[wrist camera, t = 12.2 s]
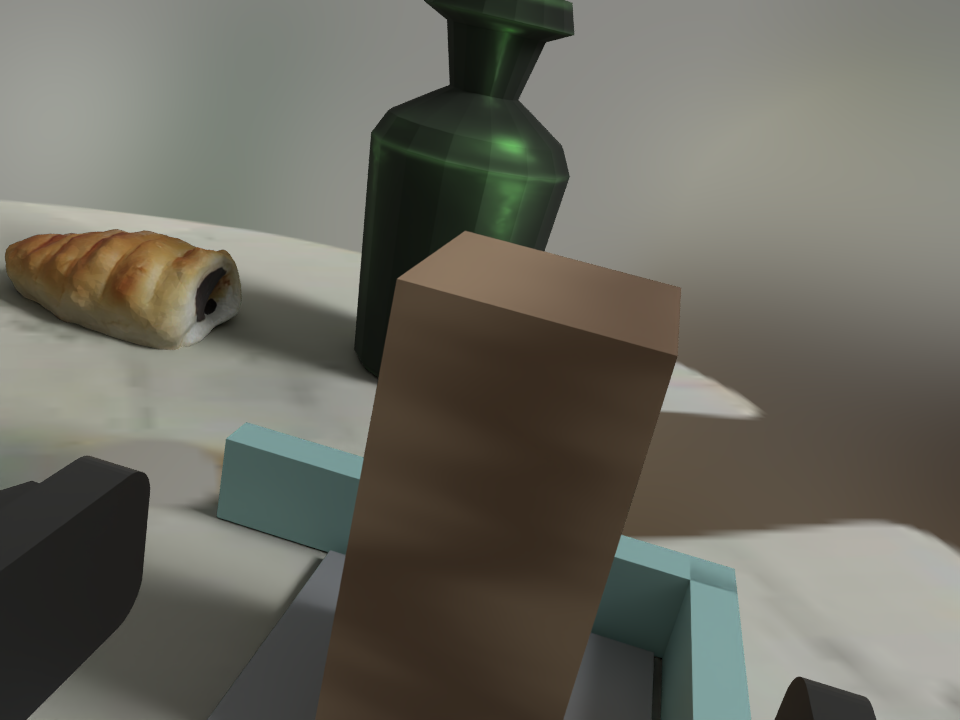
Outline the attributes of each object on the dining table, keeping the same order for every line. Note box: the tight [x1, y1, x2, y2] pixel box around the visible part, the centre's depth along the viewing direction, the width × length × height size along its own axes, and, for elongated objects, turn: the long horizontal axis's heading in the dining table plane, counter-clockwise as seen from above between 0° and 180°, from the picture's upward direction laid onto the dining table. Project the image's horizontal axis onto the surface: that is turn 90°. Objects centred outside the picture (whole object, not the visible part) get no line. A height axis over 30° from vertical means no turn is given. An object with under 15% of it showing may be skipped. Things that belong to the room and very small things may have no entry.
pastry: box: [5, 229, 241, 350], centre depth 37 cm, size 9×7×4 cm
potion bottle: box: [354, 0, 574, 377], centre depth 35 cm, size 8×8×18 cm
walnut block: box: [315, 231, 681, 720], centre depth 17 cm, size 4×4×10 cm
